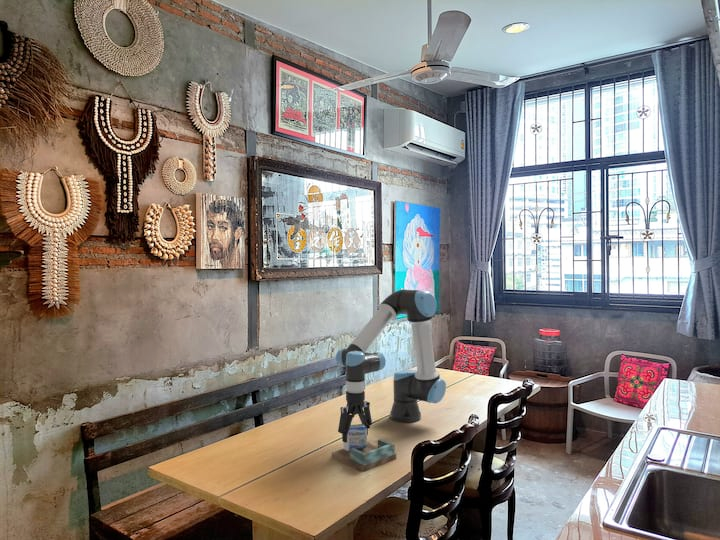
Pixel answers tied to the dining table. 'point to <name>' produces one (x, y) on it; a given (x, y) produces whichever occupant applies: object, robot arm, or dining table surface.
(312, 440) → the dining table surface
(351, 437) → the medicine box
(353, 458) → the dock
